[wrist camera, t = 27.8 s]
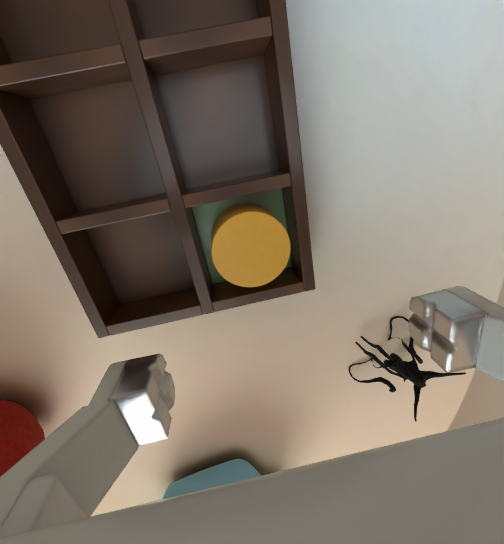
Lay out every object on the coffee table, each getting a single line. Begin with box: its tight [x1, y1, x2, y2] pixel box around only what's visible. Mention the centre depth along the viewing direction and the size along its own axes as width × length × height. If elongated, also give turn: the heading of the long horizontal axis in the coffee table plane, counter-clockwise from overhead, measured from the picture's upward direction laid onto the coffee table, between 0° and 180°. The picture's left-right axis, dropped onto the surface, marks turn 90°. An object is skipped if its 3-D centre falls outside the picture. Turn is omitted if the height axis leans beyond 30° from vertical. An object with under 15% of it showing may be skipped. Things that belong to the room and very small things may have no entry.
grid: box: [0, 0, 315, 338], centre depth 16 cm, size 15×23×4 cm
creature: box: [349, 316, 466, 421], centre depth 25 cm, size 8×5×8 cm
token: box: [211, 203, 291, 287], centre depth 19 cm, size 5×5×3 cm
